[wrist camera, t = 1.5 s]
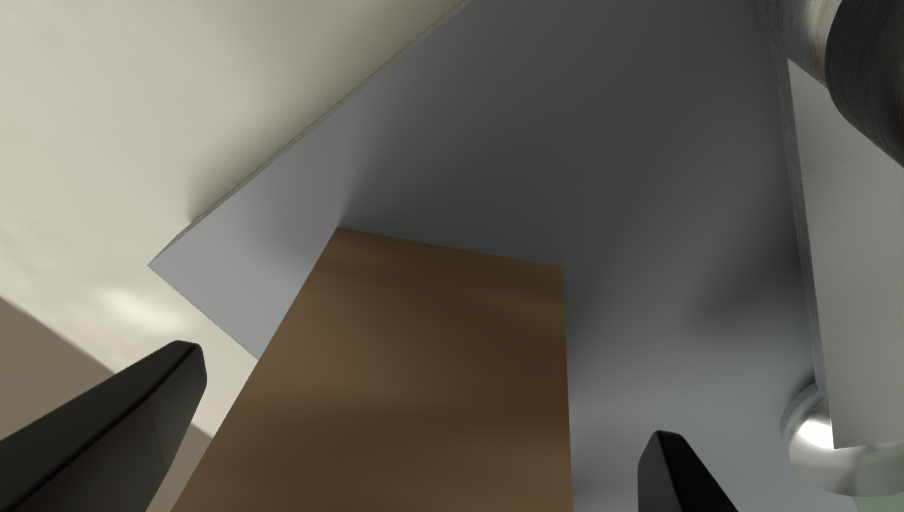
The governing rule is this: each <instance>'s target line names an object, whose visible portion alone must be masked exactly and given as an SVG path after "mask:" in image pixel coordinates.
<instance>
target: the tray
mask: <svg viewBox="0 0 904 512" xmlns="http://www.w3.org/2000/svg"><path fill="white" fill-rule="evenodd" d="M851 497H852V499H853V502H854V504H855V506H856V508H857V510H858V512H904V492H903V493H898V494H893V495H886V496H875V497H855V496H851Z"/></svg>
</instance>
